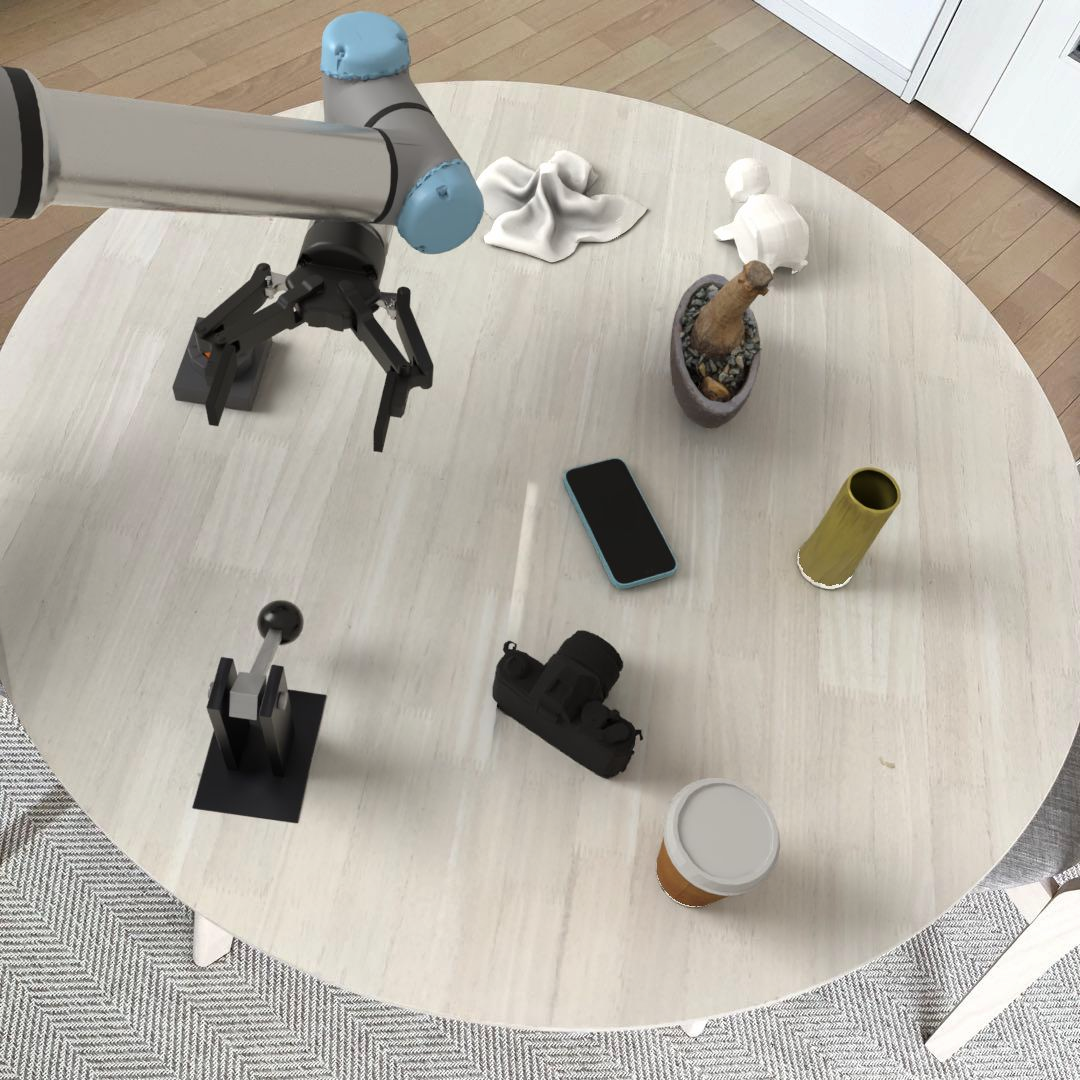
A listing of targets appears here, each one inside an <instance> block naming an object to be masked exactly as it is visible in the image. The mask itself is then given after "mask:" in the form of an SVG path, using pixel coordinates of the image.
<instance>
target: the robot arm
mask: <svg viewBox="0 0 1080 1080" xmlns="http://www.w3.org/2000/svg"><path fill="white" fill-rule="evenodd" d="M320 55H321V59H320V60H321V61H320V63H319V71H320V73H321V83H322V84H321V85H322V100H323V115H324V116H323V117H324V120H323V121H320V120H313V119H312V120H311V119H305V118H304V119H303V118H297V117H296V118H295V117H289V116H288V117H287V116H281V115H271V114H262V113H255V112H246V111H239V110H230V109H222V108H212V107H204V106H197V105H189V104H180V103H173V102H172V103H171V102H165V101H155V100H148V99H140V98H132V97H123V96H115V95H107V94H99V93H91V92H83V91H74V90H66V89H58V88H50V87H45V86H44V85H43V84H42V83H41V82H40V81H39V79H37V77H36V76H35V75H34V74H33V73H32V72H31V71H30V70H28V69H26V68H22V67H21V68H20V67H14V66H13V67H12V66H5V65H0V219H18V220H34V219H37V218H38V217H39V216H40V215H41V214H42V213H44V211H45V210H46V209H47V208H49V207H50V206H65V207H81V208H83V207H84V208H99V209H117V210H134V211H152V212H166V213H170V212H171V213H185V214H186V213H187V214H200V215H201V214H202V215H203V214H204V215H220V216H235V217H237V216H238V217H254V218H255V217H256V218H269V219H270V218H271V219H287V220H289V219H290V220H303V221H304V220H305V221H306V220H307V221H309V222H308V225H307V228H306V229H307V230H306V233H305V236H304V238H303V242H302V245H301V247H300V251H299V254H298V258H297V261H296V264H295V267H294V269H293V270H292V271H291V272H290V273H289V274H288V275H285V274H281V273H277V272H274V271H272V269H271V267H272V266H271V265H270V264H269V263H267V262H261V263H259V264H257V265H256V267H255V269H254V271H253V272H252V275H251V277H250V279H249V280H247V281H246V282H245V283H244V284H243V285H241V286H240V287H239V288H237V290H235V292H233V293H232V294H231V295H230V296H228V297H227V298H226V299H225V300H224V301H222V303H221V304H220V305H218V306H217V307H216V308H215V309H213V310H212V311H211V312H210V313H208V315H206V316H205V317H203V318H204V319H203V320H202V321H201V322H200V323H198V324H197V325H196V326H195V325H194V326H195V329H194V330H195V335H196V340H197V345H198V349H199V351H200V352H202V353H208V352H209V353H210V356H209V359H208V362H207V364H206V367H205V370H204V372H205V378H206V383H207V387H211V388H210V391H209V394H208V397H207V400H206V403H205V405H204V406H205V412H206V417H207V421H208V425H209V426H214V427H219V425H220V422H221V419H222V417H223V414H224V410H225V408H224V407H225V404H226V401H227V398H228V395H229V392H230V389H231V386H232V383H233V380H234V377H235V374H236V371H237V368H238V365H237V358H236V357H237V356H239V355H241V354H242V353H244V352H246V351H248V350H250V349H251V348H253V347H255V346H257V345H258V344H260V343H262V342H264V341H266V340H267V339H269V338H271V337H272V338H273V337H274V336H276V335H278V334H279V333H283V332H284V331H286V330H290V331H292V330H294V329H297V328H298V327H300V326H301V325H303V324H305V323H306V324H307V326H308V327H311V328H327V329H330V330H332V331H334V332H335V331H336V332H341V333H344V330H349V329H350V330H351V331H352V333H353V334H354V336H355V337H356V338H357V340H358V341H359V342H362V343H363V344H364V345H365V347H366V348H367V350H368V351H369V352H370V354H371V355H372V357H374V359H375V360H376V362H377V363H378V365H379V366H380V367H381V369H382V370H383V371H384V373H385V374H386V376H385V380H384V384H383V388H382V394H381V397H380V402H379V406H378V410H377V414H376V418H375V422H374V423H375V424H374V428H373V432H372V433H373V434H372V435H373V437H372V438H373V439H372V440H373V443H372V445H373V446H372V447H373V448H372V449H373V452H376V453H383V452H384V447H385V444H386V443H385V442H386V439H387V435H388V434H387V433H388V429H389V425H390V421H391V418H398V419H402V417H404V415H405V413H406V408H407V404H408V399H409V394H410V391H411V390H412V389H414V388H418V387H419V388H421V389H422V390H430V389H431V388H432V387H433V383H434V368H435V365H434V363H433V360H432V357H431V354H430V352H429V350H428V348H427V344H426V343H425V340H424V339H423V338H424V337H423V336H422V333H421V331H420V328H419V326H418V323H417V320H416V318H415V316H414V313H413V311H412V308H411V298H412V297H411V295H412V292H411V289H410V288H409V287H408V286H400V287H398V288H397V291H396V292H389V291H388V292H387V291H381V289H380V285H381V281H382V279H383V274H384V270H385V265H386V261H387V255H388V254H389V250H390V245H391V240H392V237H393V232H394V229H395V227H396V230H397V233H398V234H399V237H401V238H402V239H404V241H405V242H406V243H407V244H408V246H410V247H411V248H412V249H414V250H416V251H418V252H419V253H421V254H425V255H440V254H444V253H447V252H450V251H453V250H455V249H457V248H458V247H460V246H462V245H463V244H464V243H465V242H467V241H468V240H469V239H470V238H471V237H472V236H473V235H474V233H475V232H476V231H477V229H478V227H479V225H480V224H481V221H482V219H483V215H484V212H485V210H484V200H483V196H482V193H481V191H480V189H479V188H478V186H477V184H476V180H475V178H474V176H473V174H472V171H471V168H470V166H469V165H468V164H467V162H466V161H465V160H464V159H463V157H462V156H461V155H460V153H459V151H458V150H457V149H456V147H455V146H454V144H453V142H452V141H451V139H450V138H449V136H448V135H447V133H446V131H445V130H444V129H443V127H442V126H441V125H440V123H439V121H438V120H437V118H436V117H435V114H434V113H433V111H432V109H431V108H430V107H429V105H428V104H427V101H426V100H425V99H424V97H423V95H422V94H421V92H420V90H419V89H418V88H417V86H416V85H415V83H414V81H413V80H412V77H411V75H410V65H411V64H412V56H411V55H410V43H409V37H408V34H407V32H406V30H405V29H404V27H403V26H402V25H401V24H400V23H399V22H398V21H396V20H394V19H393V18H391V17H390V16H387V15H385V14H383V13H379V12H374V11H368V10H359V11H358V10H357V11H356V12H349V13H347V12H346V13H343V14H340V15H338V16H337V17H335V18H334V19H332V20H331V21H330V22H329V23H328V24H327V25H326V26H325V28H324V30H323V33H322V38H321V53H320ZM278 292H282V293H281V294H280V295H279V296H278V297H277V300H276V301H274V302H272V303H271V304H269V305H267V306H265V307H264V308H262V307H263V306H264V304H265V303H266V302H267V300H273V299H274V298H275V295H276V294H277V293H278ZM261 308H262V309H261ZM380 308H383V309H385V311H386V313H387V315H388V316H389V318H390V319H391V320H392V321H395V326H396V331H397V334H398V336H399V339H400V341H401V344H402V346H403V350H404V351H405V354H406V356H407V358H408V360H407V359H406V357H405V356H404V355H403V353H402V352H401V351H400V349H399V348H398V347H397V346H396V344H395V343H394V341H393V340H392V339H391V337H390V336H389V335H388V333H387V332H386V331H385V329H384V328H383V326H381V324H380V322H379V321H378V320H377V319H376V317H375V316H374V314H375V313H376V312H377V311H378V310H379V309H380ZM259 309H260V310H259Z"/></svg>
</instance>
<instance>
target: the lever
mask: <svg viewBox="0 0 1080 1080" xmlns="http://www.w3.org/2000/svg"><path fill="white" fill-rule="evenodd" d="M304 625H305V619H304V615H303V613H302V611H301V609H300V608H299V606H297V605H296V604H295V603H294V602H292V601H289V600H286V599H276V600H273V601H270V602H268V603H266V604H265V605H264V606H263V607H262V609H261V610H260V611H259V613H258V616H257V620H256V626H257V631H258V633H259V635H260V637H261V638H262V639H263V641H262V644H261V647H260V648H259V651H258V653H257V655H256V657H255V659H254V662H253V664H252V666H251V668H250V671H249V672H244V671H239V672H238V673H237V675H238V676H237V678H236V680H235V682H234V684H233V686H232V688H231V691H230V702H229V716H230V717H237V718H244V719H251V720H257V718H258V716H259V711H260V707H261V703H262V699H263V696H264V692H265V688H266V684H267V680H268V675H267V674H268V672H269V670H270V668H271V665H272V663H273V660H274V658H275V655H276V653H277V651H278V649H279V646H286V645H290V644H292V643H294V641H296V640H297V639H298V638H299V637H300V636H301V634H302V632H303V631H304Z"/></svg>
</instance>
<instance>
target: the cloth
mask: <svg viewBox="0 0 1080 1080" xmlns="http://www.w3.org/2000/svg"><path fill="white" fill-rule="evenodd" d="M597 179H598V175H597V173H595V171H594V168H593V165H592V163H591V162H590V161H589V160H588V159H587V158H586V157H584V156H581V155H579V154H577V153H575V152H573V151H570V150H568V149H561V150H556V151H555V152H554V155H553V156H552V157H551V158H550V159H549V160H548V161H547V162H542V163H540V164H539V166H538V168H537V169H536V170H534V169H533V168H532V167H531V166H530V165H528V164H526V163H525V162H523V161H521V160H520V159H516V158H514V157H511V156H502V157H499V158H498V159H497V160H495V161H494V162H491V164H490V165H488V166H487V167H486V168H485V169H484V170H483V171H482V172H481V174H480V175H479V177H478V178H477V179H476V180H475V182H476V184H477V186H478V188H479V189H480V191H481V193H482V196H483V200H484V212H485V213H486V214H487V215H488V216H489V218H491V220H493V224H492V227H491V230H490V231H488V233H487V234H485V235H484V236H483V241H484V243H485V244H486V245H491V246H495V247H498V248H503V249H507V250H511V251H514V252H518V253H523V254H525V255H527V256H531V257H535V258H538V259H541V260H544V261H545V262H548V263H555V262H558V261H562V260H564V259H566V258H568V257H570V256H571V255H572V254H573V253H575V251H576V249H577V247H578V245H579V244H580V243H581V242H591V243H592V242H593V243H594V242H595V243H607V242H610V241H613V240H615V239H617V238H619V237H618V235H620V234H619V232H620V233H621V231H620V230H622V229H621V228H620V227H622V226H621V225H619V226H618V225H617V224H616V223H618V222H617V221H616V220H618V218H620V216H622V213H623V211H625V210H626V209H628V208H627V206H628V207H629V205H628V204H630V203H629V202H630V201H629V202H628V200H627V199H628V198H629V197H628V196H626V198H627V197H628V198H627V199H626V200H625V199H624V198H625V197H624V196H625V195H624V196H622V195H623V194H619V195H618V194H610V193H602V194H595V195H592V196H589V195H588V194H587V192H588V191H589V190H590V189H591V187H592V186H593V185H594V184H595V183H596V181H597ZM592 184H593V185H592ZM588 189H589V190H588ZM624 208H625V210H624ZM624 217H625V216H624ZM623 219H624V218H623ZM618 221H619V220H618ZM621 221H622V219H621ZM622 222H623V221H622ZM621 224H622V223H621ZM622 225H623V224H622ZM616 226H617V227H616ZM616 237H617V238H616ZM614 238H615V239H614ZM612 239H613V240H612Z"/></svg>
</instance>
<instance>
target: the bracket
mask: <svg viewBox="0 0 1080 1080" xmlns="http://www.w3.org/2000/svg"><path fill="white" fill-rule="evenodd" d="M234 660H235V659H234V658H231V657H224V656H221V657H220V658H219V661H218V665H217V669H216V673H215V676H214V679H213V681H211V682H210V683H209V687H208V689H207V699H208V700H207V704H206V711H207V713H208V717H209V719H210V723H211V725H212V729H213V732H212V735H211V739H210V743H209V746H208V750H207V752H206V757H205V761H204V764H203V767H202V771H201V775H200V778H199V782H198V785H197V789H196V792H195V796H194V799H193V803H192V806H191V808H192V809H193V810H199V811H207V812H214V813H220V814H228V815H235V816H242V817H248V818H249V817H250V818H256V819H263V820H270V821H277V822H284V823H291V824H298V823H299V818H300V814H301V809H302V805H303V801H304V796H305V793H306V787H307V783H308V779H309V774H310V769H311V766H312V760H313V756H314V752H315V748H316V743H317V739H318V734H319V730H320V727H321V721H322V717H323V712H324V707H325V704H326V698H327V695H326V694H323V693H316V692H309V691H304V690H303V691H302V690H295V689H288V683H287V677H286V672H285V667H284V665H278V664H271V665H270V667H269V671H268V672H269V673H268V675H267V679H266V688H265V692H264V696H263V699H262V703H261V707H260V711H259V716H258V718H257V720H251V719H244V718H237V717H230V716H229V702H230V691H231V688H232V686H233V684H234V682H235V680H236V678H237V676H238V671H237V667H236V665H235V661H234Z"/></svg>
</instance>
